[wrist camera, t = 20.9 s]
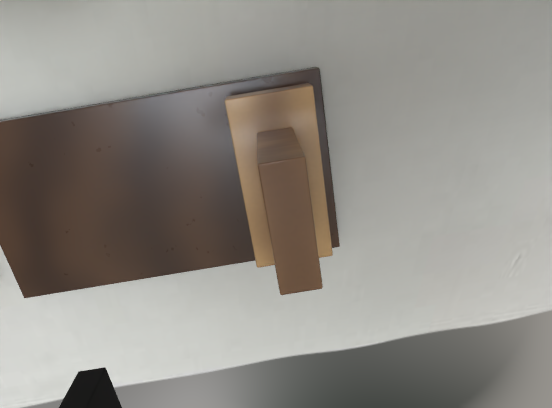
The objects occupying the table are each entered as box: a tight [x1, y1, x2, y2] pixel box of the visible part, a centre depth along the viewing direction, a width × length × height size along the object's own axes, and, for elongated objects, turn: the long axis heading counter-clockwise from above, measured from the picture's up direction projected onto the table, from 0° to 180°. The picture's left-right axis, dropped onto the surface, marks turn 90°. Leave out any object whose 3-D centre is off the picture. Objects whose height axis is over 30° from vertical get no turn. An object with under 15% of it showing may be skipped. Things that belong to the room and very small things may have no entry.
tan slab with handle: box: [225, 83, 333, 295], centre depth 28 cm, size 6×13×12 cm, turn 9°
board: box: [0, 67, 339, 298], centre depth 34 cm, size 28×15×2 cm, turn 99°
